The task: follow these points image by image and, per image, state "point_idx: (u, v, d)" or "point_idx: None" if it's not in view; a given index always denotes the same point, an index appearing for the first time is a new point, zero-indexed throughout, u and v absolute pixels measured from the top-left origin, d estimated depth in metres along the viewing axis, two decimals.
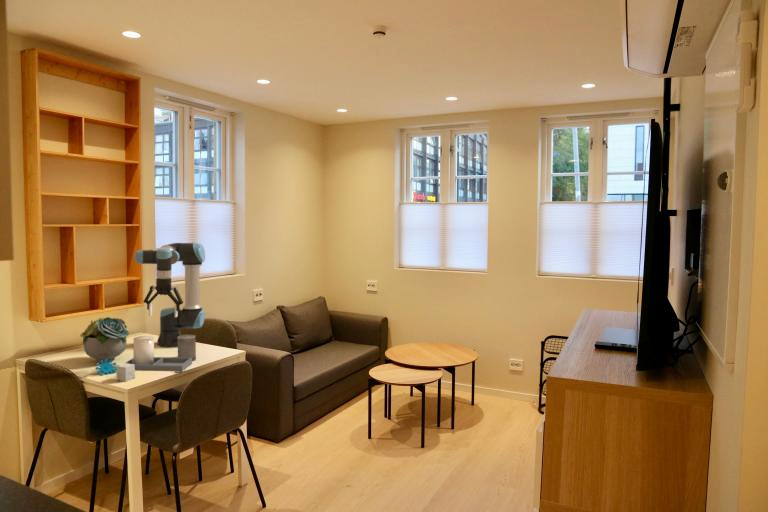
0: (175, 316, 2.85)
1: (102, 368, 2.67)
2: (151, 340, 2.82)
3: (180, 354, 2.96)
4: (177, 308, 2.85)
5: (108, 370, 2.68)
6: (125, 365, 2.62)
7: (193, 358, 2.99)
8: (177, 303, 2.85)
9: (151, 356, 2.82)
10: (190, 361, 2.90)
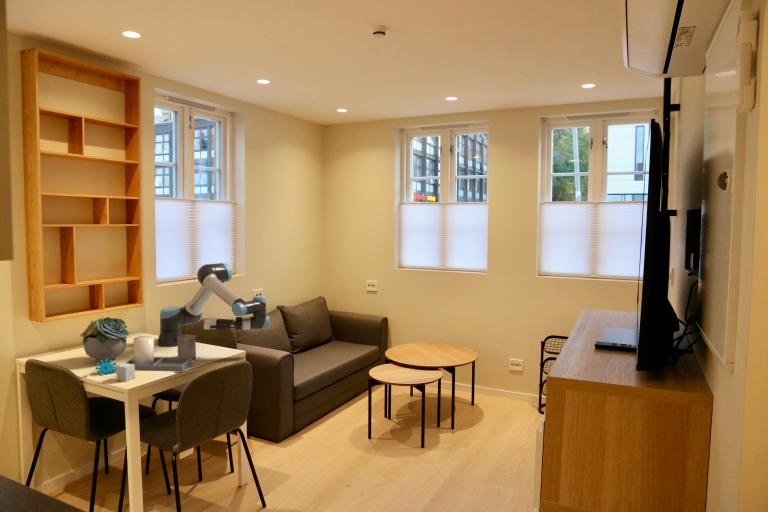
0: (205, 324, 3.09)
1: (102, 368, 2.67)
2: (151, 340, 2.82)
3: (180, 354, 2.96)
4: None
5: (108, 370, 2.68)
6: (125, 365, 2.62)
7: (193, 358, 2.99)
8: (218, 323, 3.12)
9: (151, 356, 2.82)
10: (190, 361, 2.90)
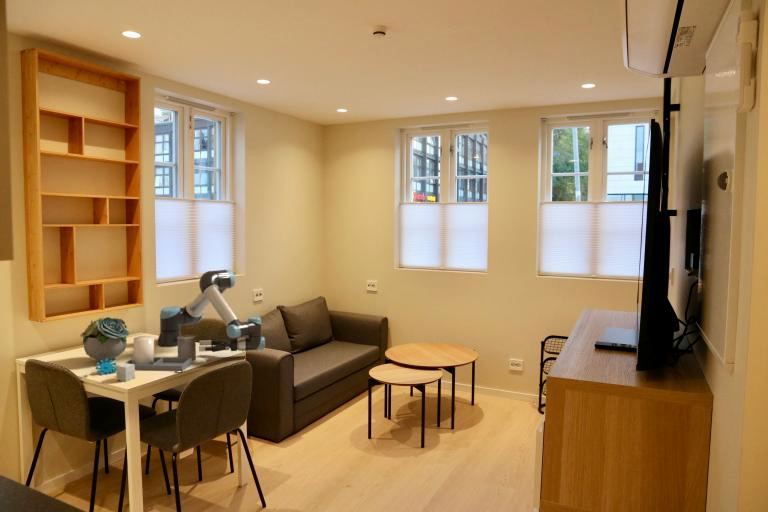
0: (200, 345, 3.09)
1: (102, 368, 2.67)
2: (151, 340, 2.82)
3: (180, 354, 2.96)
4: None
5: (108, 370, 2.68)
6: (125, 365, 2.62)
7: (193, 358, 2.99)
8: None
9: (151, 356, 2.82)
10: (190, 361, 2.90)
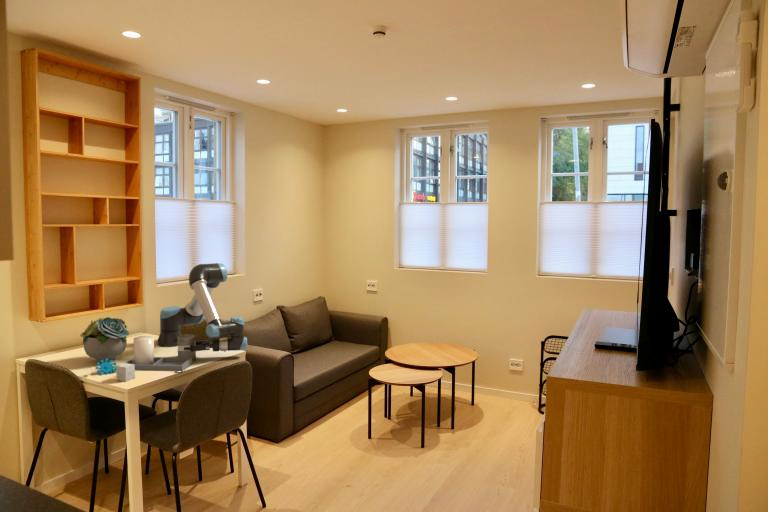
0: None
1: (101, 368, 2.68)
2: (151, 340, 2.82)
3: (180, 354, 2.96)
4: None
5: (108, 370, 2.69)
6: (125, 365, 2.62)
7: (193, 358, 2.99)
8: None
9: (151, 356, 2.82)
10: (190, 361, 2.90)
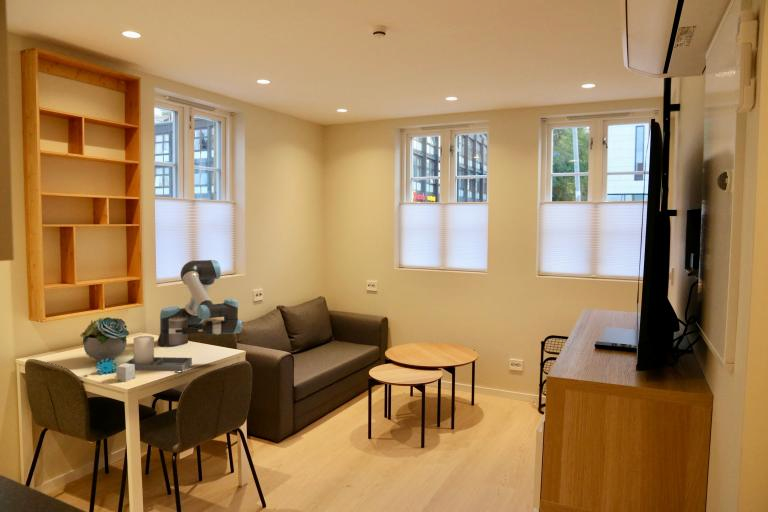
0: None
1: (101, 368, 2.68)
2: (151, 340, 2.82)
3: (171, 337, 2.84)
4: None
5: (108, 370, 2.69)
6: (125, 365, 2.62)
7: (185, 341, 2.87)
8: None
9: (151, 356, 2.82)
10: (190, 361, 2.90)
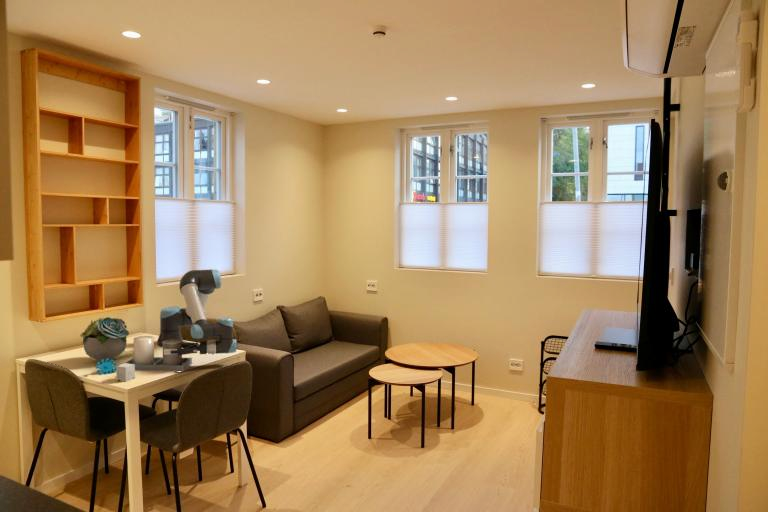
0: None
1: (101, 368, 2.68)
2: (151, 340, 2.82)
3: (165, 360, 2.80)
4: None
5: (108, 369, 2.69)
6: (125, 365, 2.62)
7: (179, 364, 2.83)
8: None
9: (151, 356, 2.82)
10: (190, 361, 2.90)
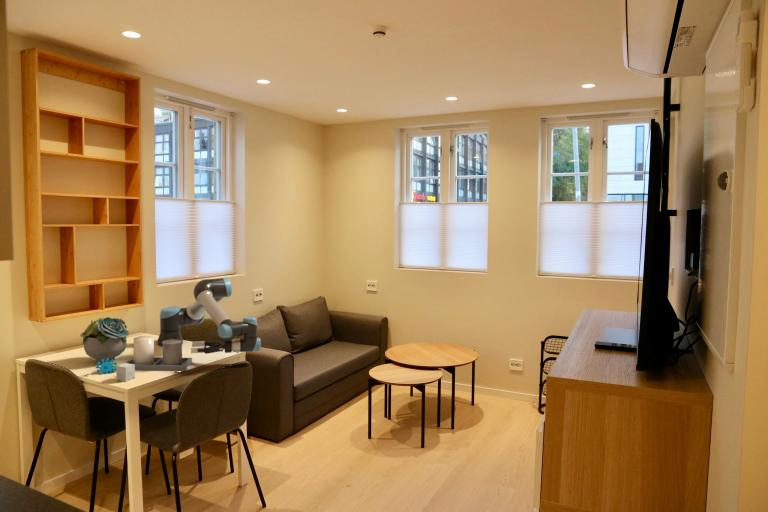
0: (193, 346, 2.94)
1: (101, 367, 2.68)
2: (151, 340, 2.82)
3: (165, 360, 2.80)
4: None
5: (108, 369, 2.69)
6: (125, 365, 2.62)
7: (179, 364, 2.83)
8: None
9: (151, 356, 2.82)
10: (190, 361, 2.90)
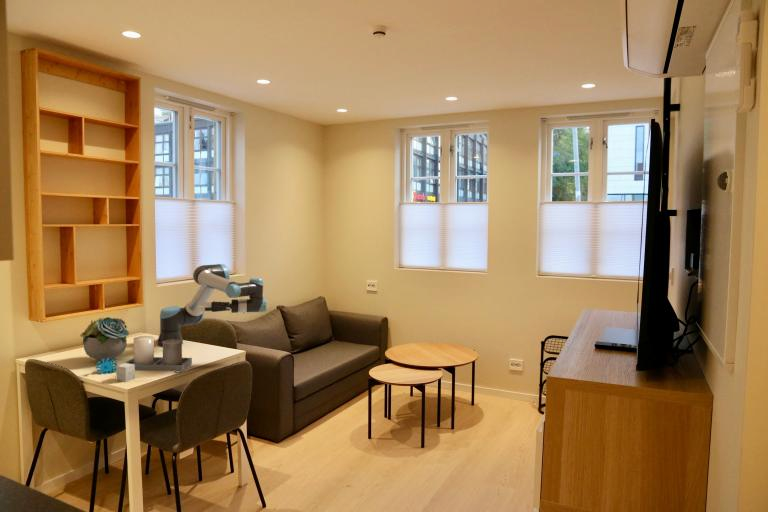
0: None
1: (101, 367, 2.69)
2: (151, 340, 2.82)
3: (165, 360, 2.80)
4: None
5: (108, 369, 2.69)
6: (125, 365, 2.62)
7: (179, 364, 2.83)
8: (213, 306, 3.02)
9: (151, 356, 2.82)
10: (190, 361, 2.90)
